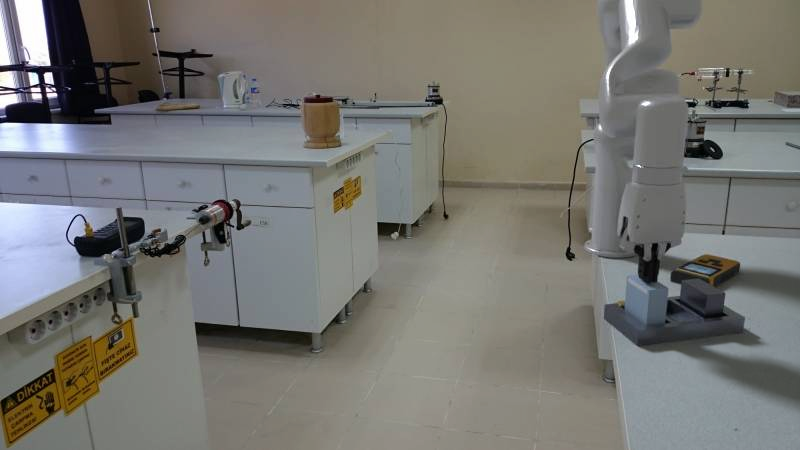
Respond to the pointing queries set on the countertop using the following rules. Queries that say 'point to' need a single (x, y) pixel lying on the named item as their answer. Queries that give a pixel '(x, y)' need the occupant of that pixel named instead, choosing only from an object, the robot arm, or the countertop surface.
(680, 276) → the electronic device
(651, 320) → the light blue block
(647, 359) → the countertop surface
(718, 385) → the countertop surface
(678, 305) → the rack
